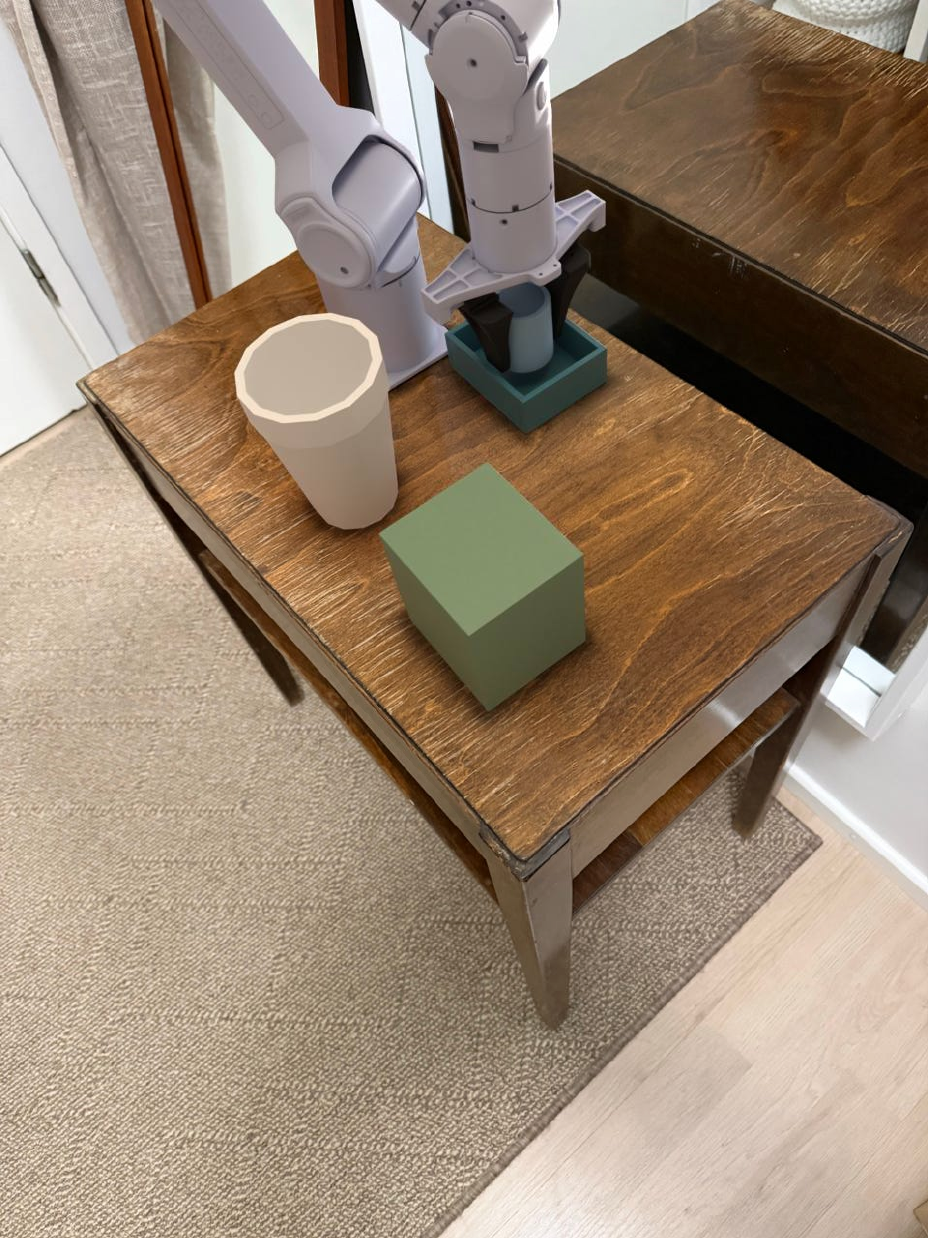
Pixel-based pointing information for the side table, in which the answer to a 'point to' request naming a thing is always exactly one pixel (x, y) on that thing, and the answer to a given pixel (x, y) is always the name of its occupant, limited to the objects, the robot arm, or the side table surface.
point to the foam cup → (325, 413)
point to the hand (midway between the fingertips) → (524, 348)
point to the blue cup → (529, 326)
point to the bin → (532, 375)
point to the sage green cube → (489, 583)
